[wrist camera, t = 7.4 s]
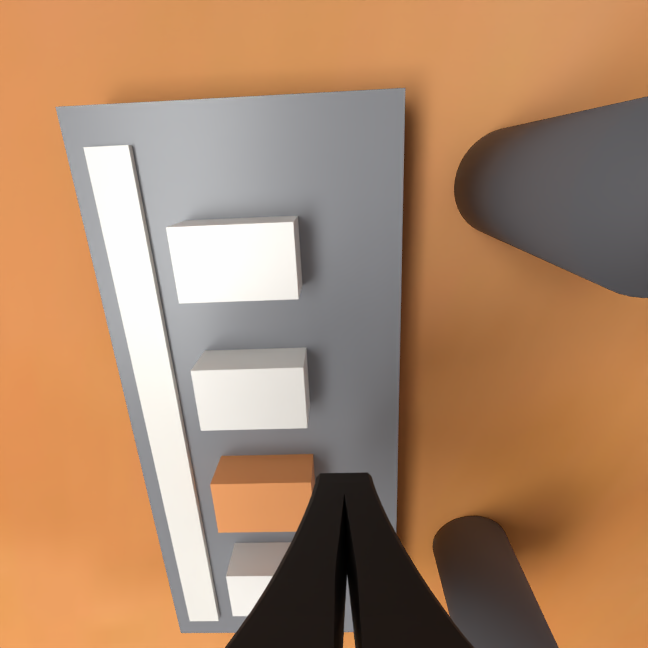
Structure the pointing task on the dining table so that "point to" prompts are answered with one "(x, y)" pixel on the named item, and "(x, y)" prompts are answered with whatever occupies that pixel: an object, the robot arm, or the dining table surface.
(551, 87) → the dining table surface
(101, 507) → the dining table surface
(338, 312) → the breaker panel
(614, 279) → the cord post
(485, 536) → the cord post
